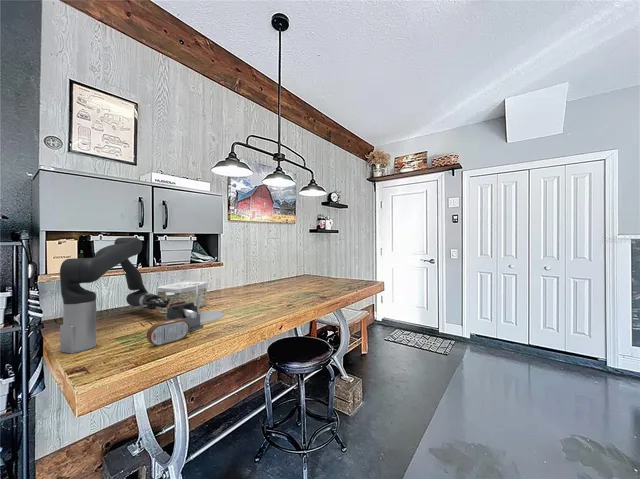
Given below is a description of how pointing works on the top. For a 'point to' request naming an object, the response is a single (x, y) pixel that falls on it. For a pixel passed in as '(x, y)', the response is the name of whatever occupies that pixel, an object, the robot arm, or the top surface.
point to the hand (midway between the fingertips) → (164, 305)
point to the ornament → (207, 315)
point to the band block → (177, 312)
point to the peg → (185, 310)
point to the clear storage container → (182, 293)
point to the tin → (167, 332)
